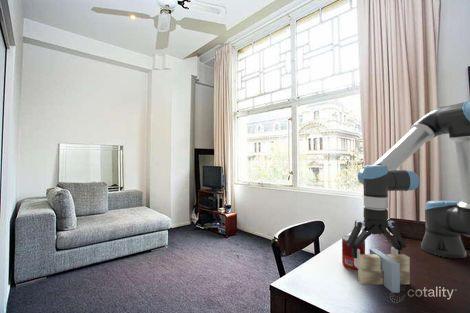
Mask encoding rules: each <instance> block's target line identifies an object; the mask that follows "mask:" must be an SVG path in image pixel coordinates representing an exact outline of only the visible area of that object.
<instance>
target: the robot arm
mask: <svg viewBox="0 0 470 313" xmlns="http://www.w3.org/2000/svg"><path fill="white" fill-rule="evenodd" d="M446 134H447V135H448V136H449V137H448V138H449V139H450V140H452V141H453V142H454V144H455V152H456V160H457V161H456V162H457V170H458V179H459V189H460V196H461V197H460V198H461V200H460V201H456V200H455V201H454V200H428V201H426V203H425V209H424V213H425V214H424V215H425V217H424V219H425V233H424V235H423V238H422V241H421V242H420V249H421V250H422V251H424V252H426V253H428V254H430V253H431V255H433V254H434V256H436V255H438V256H437V257H440V256H442V257H441V258H445V257H449V258H448V259H451V258H463V257H466V258H467V250H466V249H465V246H464V243H463V241H462V239H461V238H462V237H461V235H462V236H464V237H465V236H466V237H469V238H470V100H469V101H463V102H460V103H455V104H450V105H445V106H441V107H438V108H435V109H433V110H431V111H429V112H428V113H426V114H425V115H423V116H421V118H419V119H417V121H415V122H414V123H413V124H412V125H411V126H410V129H409V131H408V132H407V133H406V134H405V135H404V136H402V137H401V139H400V140H398V141H397V142H396V143H395V144H394V145H393V146H392V147H391V148H390V149H389V150H388V151H386V152H385V153H384V154H383V155H382V156H381V157H380V158H379V159H378V160H377V161H376V162H374V164H372V165H370V164H367V165H365V166H364V167H363V168H362V169H360V170H359V171H358V172H357V181H358V182H359V183H360V184H361V185H363V206H364V207H363V221H359V220H355V221H354V227H353V229H352V231H351V232H350V234H349V235H350V236H349V239H348V241H347V243H346V245H347V246H349V247H350V248H352V257H353V258H354V265H355V266H356V267H357V268H358V254H360V250H359V249H358V248H359V247H360V246H361V244H362V243H363V242H364V241H365V242H366V240H367V238H368V237H371V235H383V237H385V238H386V240H387V241H388V242H389V243H390V244H391V246H390V254H401V252H402V251H403V250H404V249H405V248H406V247H407V245H406V243H405V241H404V239H403V237H402V235H401V233H400V231H399V229H398V224H397V222H396V221H393V220H392V219H391V220H390V219H389V210H388V208H389V192H398V191H399V192H400V191H401V192H402V191H403V192H407V191H414V190H416V189H417V188H418V187H419V185H420V177H419V176H418V174H417V173H416V172H415V171H413V170H406V169H402V170H400V169H399V168H400V167H401V166H402V165H403V164H404V163H405V162H406V161H408V159H410V157H411V156H413V155H414V154H415V153H416V152H417V151H418V150H419V149H420V148H421V147H422V146H423V145H424V144H426V142H430V141H432V140H434V138H436V137H438V136H442V135H446ZM397 169H399V170H397ZM388 220H389V221H388ZM388 227H389V229H390V232H391V233H392V235H391V234H390V232H389V231H388Z"/></svg>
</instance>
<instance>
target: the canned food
mask: <svg viewBox="0 0 470 313" xmlns="http://www.w3.org/2000/svg"><path fill="white" fill-rule="evenodd" d="M349 236H350V234H346V235H343V236H342V238H341V241H342V242H341V253H342V255H341V259H342V260H341V261H342V265H343V266H344V267H345V268H346V269H349V270H350V271H355V272H356V271H357V272H358V268H357V267H356V266H355V265H354V258H353V257H352V248H350V247H349V246H347V245H346V243H347V241H348V239H349ZM358 249H359V250H360V254H366V240H365V241H364V242H363V243H362V244H361V246H360V247H359V248H358Z"/></svg>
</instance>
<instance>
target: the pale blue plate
mask: <svg viewBox="0 0 470 313" xmlns="http://www.w3.org/2000/svg"><path fill="white" fill-rule="evenodd" d="M369 254H376V255H378V256H379V257H380V259H381V270H383V271H384V284H383V286H384V287H385V288H386V289H388V291H390V292H391V293H397V294H398V293H401V284H400V264H399V263H397V262H396V261H394V260H393V259H391V258H390V257H388V256H386V254H384V253H383V252H381V251H380V250H379V249H377V248H369Z"/></svg>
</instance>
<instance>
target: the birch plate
mask: <svg viewBox="0 0 470 313" xmlns="http://www.w3.org/2000/svg"><path fill="white" fill-rule="evenodd" d="M385 255H386V256H388V257H390V258H391V259H393V260H394V261H396V262H397V263H399V264H400V285H410V284H411V282H410V280H411V278H410V276H411V274H410V272H411V270H410V268H411V267H410V262H411V261H410V258H411V257H410V256H408V255H406V254H405V253H404V254H402V253H400V254H391V253H389V254H385ZM357 273H358V274H357V276H358V278H357V279H358V282H360V284H362V285H384V271H383V270H381V259H380V257H379V256H378V255H376V254H370V253H369V254H368V253H367V254H366V253H365V254H358V271H357Z"/></svg>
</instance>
